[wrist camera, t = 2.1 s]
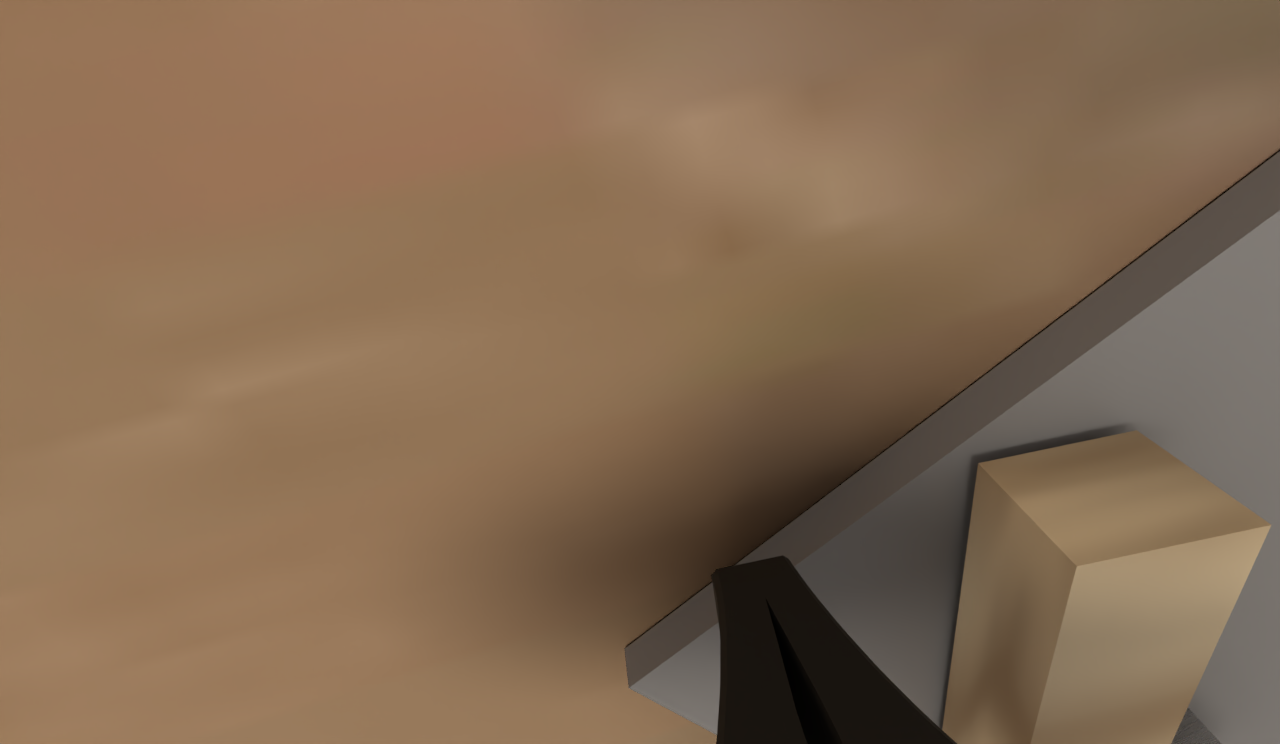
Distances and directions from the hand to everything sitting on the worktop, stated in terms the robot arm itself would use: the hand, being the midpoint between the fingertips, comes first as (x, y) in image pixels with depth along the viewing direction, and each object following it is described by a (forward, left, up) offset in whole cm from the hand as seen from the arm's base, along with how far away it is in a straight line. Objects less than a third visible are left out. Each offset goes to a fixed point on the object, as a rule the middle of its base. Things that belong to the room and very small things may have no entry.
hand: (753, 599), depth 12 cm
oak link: (-8, -2, -1) cm, 8 cm away
